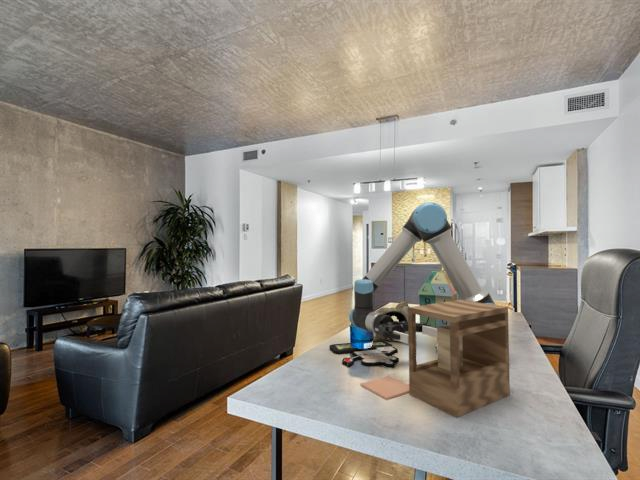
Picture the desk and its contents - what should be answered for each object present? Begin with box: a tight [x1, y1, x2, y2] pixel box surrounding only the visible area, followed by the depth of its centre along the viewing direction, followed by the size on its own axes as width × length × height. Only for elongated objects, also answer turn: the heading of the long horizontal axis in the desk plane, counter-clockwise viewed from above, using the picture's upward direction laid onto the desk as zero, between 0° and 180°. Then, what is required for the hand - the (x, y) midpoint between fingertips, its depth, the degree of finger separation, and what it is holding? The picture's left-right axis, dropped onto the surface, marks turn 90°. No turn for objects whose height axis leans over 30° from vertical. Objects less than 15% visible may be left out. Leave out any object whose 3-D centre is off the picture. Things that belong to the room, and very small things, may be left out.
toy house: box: [417, 269, 458, 329], centre depth 178 cm, size 17×16×30 cm
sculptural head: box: [374, 300, 410, 342], centre depth 163 cm, size 17×21×25 cm
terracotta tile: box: [359, 375, 409, 401], centre depth 106 cm, size 12×12×1 cm
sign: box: [328, 339, 400, 369], centre depth 137 cm, size 27×2×30 cm
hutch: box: [408, 299, 511, 418], centre depth 101 cm, size 24×16×26 cm, turn 121°
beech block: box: [436, 325, 463, 371], centre depth 103 cm, size 5×5×12 cm
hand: (424, 336), depth 112 cm, fingers open, 13 cm apart
